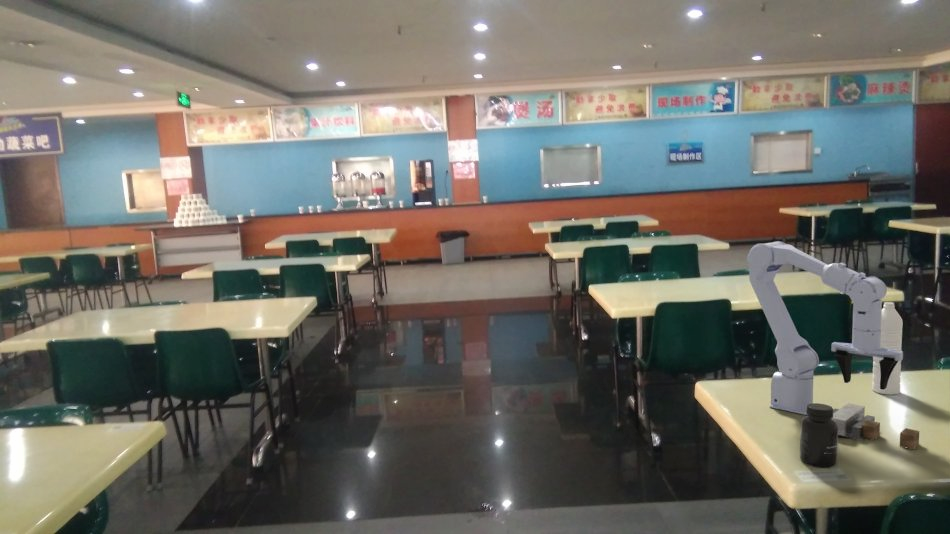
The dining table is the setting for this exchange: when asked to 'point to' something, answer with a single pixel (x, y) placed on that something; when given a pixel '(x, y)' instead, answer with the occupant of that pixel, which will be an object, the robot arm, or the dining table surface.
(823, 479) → the dining table surface
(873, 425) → the wooden blocks
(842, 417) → the grey rectangular bar
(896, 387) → the water bottle
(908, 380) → the dining table surface
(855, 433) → the block
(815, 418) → the supplement bottle
